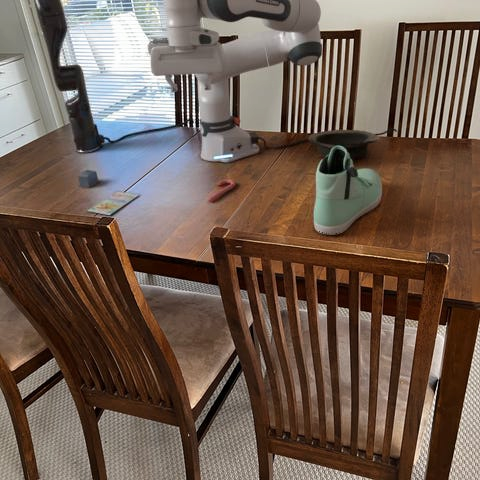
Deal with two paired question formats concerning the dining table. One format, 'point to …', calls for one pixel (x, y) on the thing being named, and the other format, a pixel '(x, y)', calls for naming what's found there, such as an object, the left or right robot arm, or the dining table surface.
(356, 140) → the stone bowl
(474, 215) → the dining table surface
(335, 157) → the sneaker
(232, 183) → the candy cane
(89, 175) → the block
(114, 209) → the baking ingredient package
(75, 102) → the left robot arm
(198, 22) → the right robot arm
